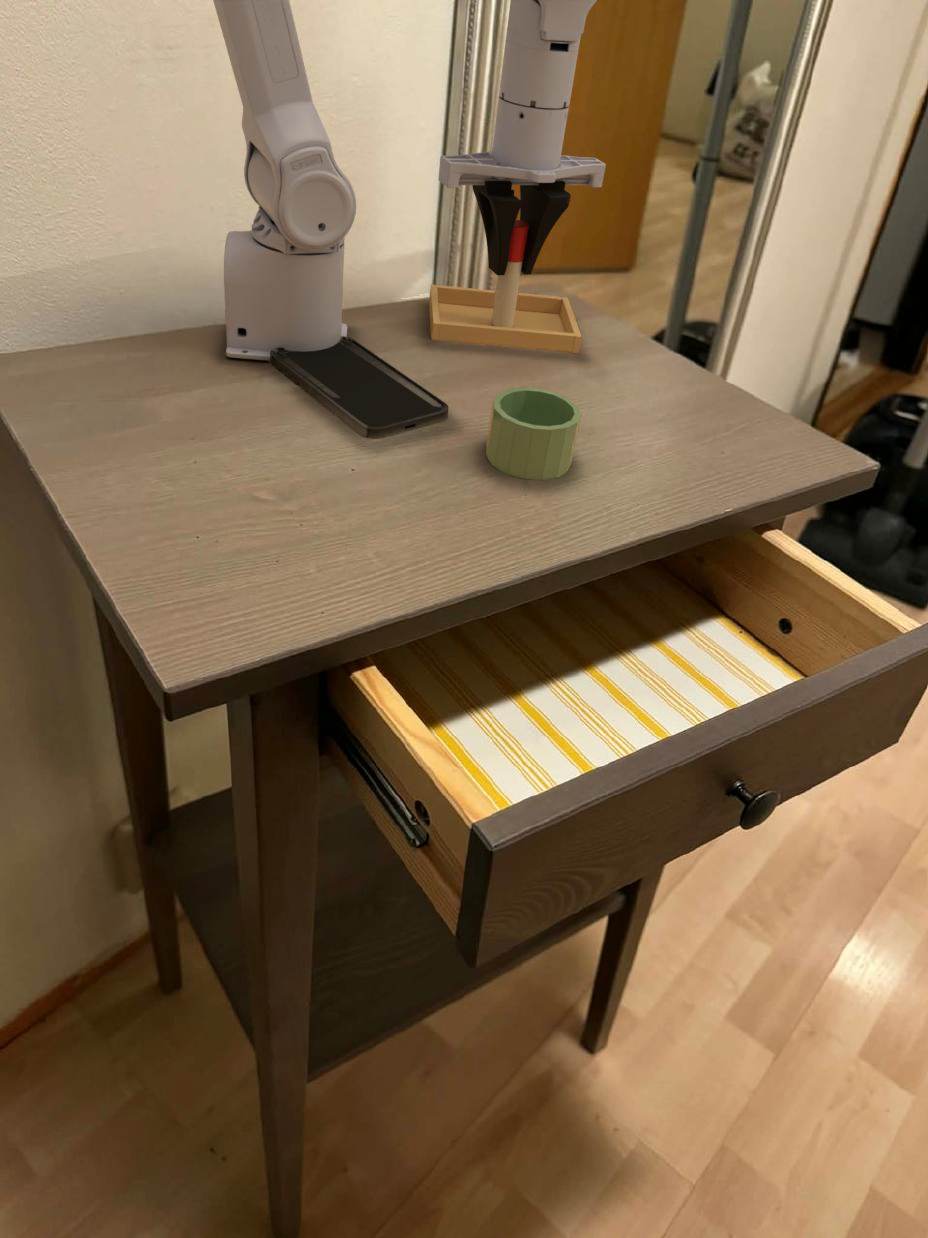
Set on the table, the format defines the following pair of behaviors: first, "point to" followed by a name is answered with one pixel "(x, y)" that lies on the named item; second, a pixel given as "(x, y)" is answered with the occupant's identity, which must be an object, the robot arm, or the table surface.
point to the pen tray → (533, 327)
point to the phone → (361, 388)
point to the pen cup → (532, 433)
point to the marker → (510, 278)
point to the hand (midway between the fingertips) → (509, 270)
